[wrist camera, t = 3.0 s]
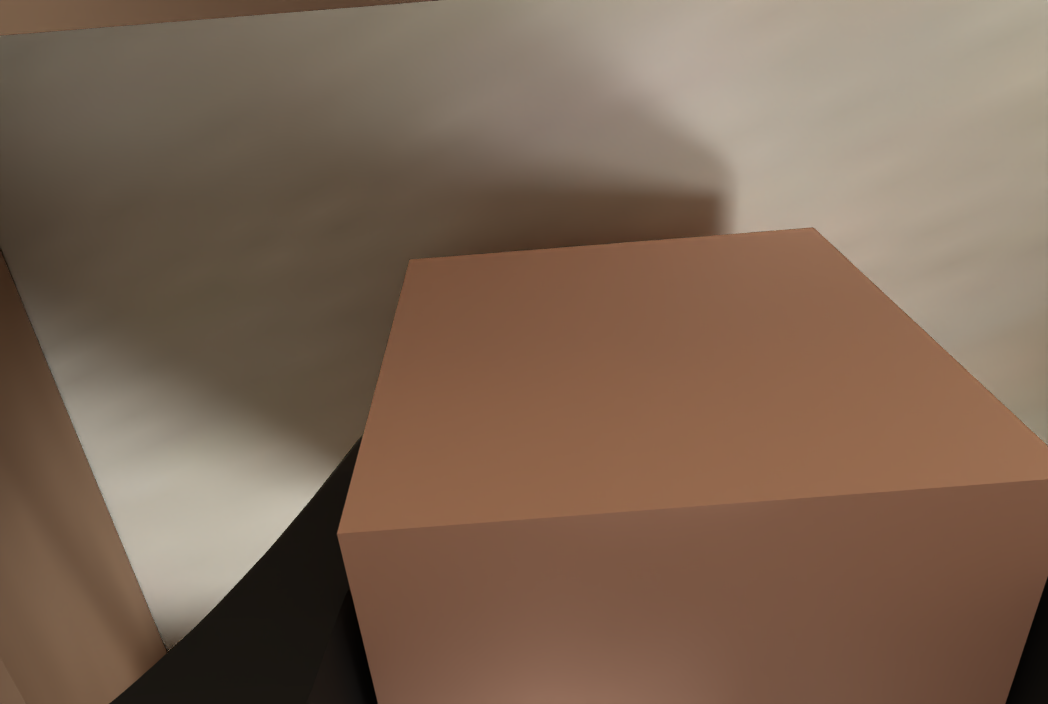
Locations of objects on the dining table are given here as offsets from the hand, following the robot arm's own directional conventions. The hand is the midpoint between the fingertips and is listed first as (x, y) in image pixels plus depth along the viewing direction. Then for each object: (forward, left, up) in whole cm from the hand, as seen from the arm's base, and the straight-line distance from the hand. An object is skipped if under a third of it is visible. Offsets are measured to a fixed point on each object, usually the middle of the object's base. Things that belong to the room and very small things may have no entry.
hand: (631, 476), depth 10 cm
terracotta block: (0, 0, -1) cm, 1 cm away
